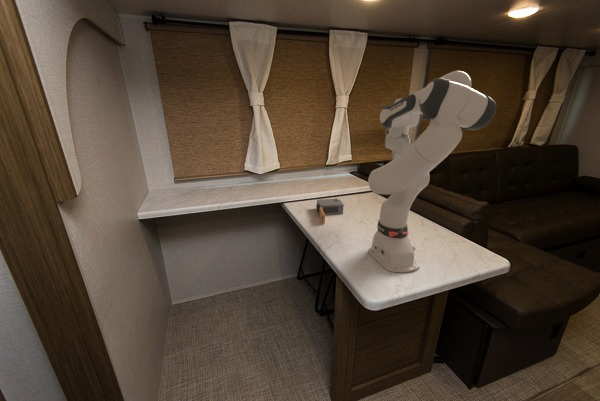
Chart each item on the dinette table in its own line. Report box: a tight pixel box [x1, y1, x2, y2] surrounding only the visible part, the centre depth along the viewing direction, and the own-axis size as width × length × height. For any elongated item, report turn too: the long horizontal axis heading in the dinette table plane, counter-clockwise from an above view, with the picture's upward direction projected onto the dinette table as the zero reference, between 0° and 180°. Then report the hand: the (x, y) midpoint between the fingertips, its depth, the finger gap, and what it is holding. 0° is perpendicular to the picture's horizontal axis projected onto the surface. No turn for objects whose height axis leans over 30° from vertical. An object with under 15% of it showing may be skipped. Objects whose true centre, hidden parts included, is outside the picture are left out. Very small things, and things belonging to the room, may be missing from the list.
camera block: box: [315, 197, 345, 216], centre depth 155 cm, size 10×15×7 cm, turn 97°
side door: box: [318, 207, 326, 225], centre depth 144 cm, size 2×12×5 cm, turn 6°
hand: (395, 159), depth 134 cm, fingers closed
